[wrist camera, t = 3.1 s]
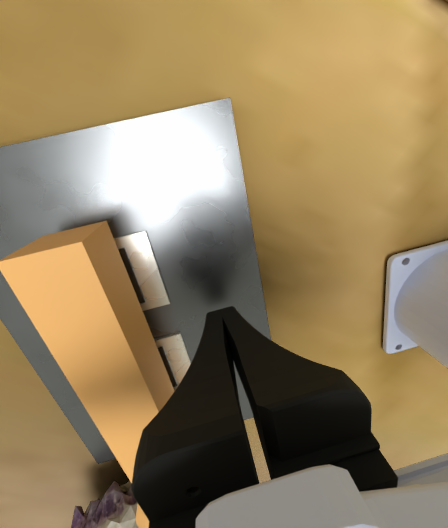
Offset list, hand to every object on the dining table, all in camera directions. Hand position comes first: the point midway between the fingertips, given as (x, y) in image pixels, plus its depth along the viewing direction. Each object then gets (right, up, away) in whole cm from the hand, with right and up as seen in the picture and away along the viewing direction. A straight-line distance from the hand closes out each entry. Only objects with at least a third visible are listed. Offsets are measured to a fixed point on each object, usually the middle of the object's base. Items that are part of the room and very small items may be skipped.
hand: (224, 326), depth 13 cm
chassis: (-4, 0, +3) cm, 5 cm away
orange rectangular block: (-4, -3, +1) cm, 5 cm away
